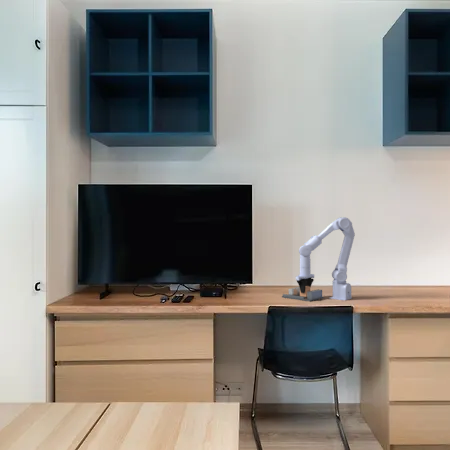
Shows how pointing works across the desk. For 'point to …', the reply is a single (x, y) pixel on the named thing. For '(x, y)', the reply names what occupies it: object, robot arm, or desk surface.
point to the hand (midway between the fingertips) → (305, 292)
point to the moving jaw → (294, 291)
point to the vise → (311, 296)
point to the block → (305, 291)
